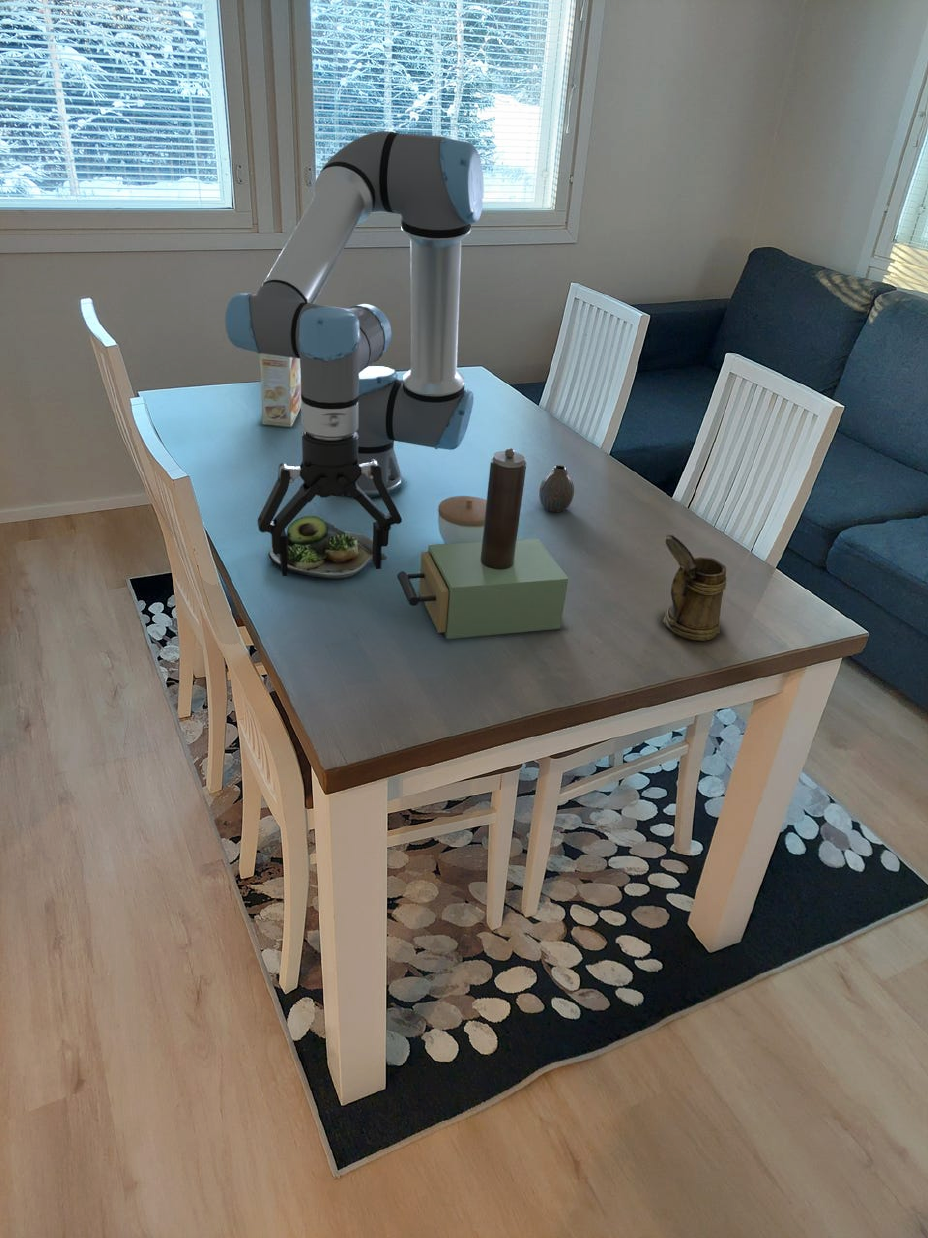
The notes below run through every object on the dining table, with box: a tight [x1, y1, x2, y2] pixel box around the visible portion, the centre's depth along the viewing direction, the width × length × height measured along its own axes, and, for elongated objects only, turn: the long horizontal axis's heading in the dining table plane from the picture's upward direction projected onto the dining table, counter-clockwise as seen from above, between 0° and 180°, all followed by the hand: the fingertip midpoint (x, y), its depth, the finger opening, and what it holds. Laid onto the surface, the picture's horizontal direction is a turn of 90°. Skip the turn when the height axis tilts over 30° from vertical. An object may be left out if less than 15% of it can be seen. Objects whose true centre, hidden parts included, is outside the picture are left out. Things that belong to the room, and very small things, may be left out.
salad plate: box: [267, 515, 388, 580], centre depth 149 cm, size 19×18×5 cm
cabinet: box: [427, 537, 569, 640], centre depth 137 cm, size 19×14×9 cm
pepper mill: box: [481, 447, 527, 569], centre depth 130 cm, size 5×5×19 cm
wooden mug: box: [663, 534, 728, 642], centre depth 135 cm, size 9×14×18 cm, turn 118°
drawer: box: [396, 551, 450, 634], centre depth 136 cm, size 22×12×7 cm, turn 106°
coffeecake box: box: [259, 353, 301, 428], centre depth 202 cm, size 15×7×20 cm, turn 179°
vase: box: [538, 464, 575, 513], centre depth 173 cm, size 7×7×9 cm
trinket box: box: [437, 495, 487, 544], centre depth 155 cm, size 11×11×9 cm
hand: (331, 568), depth 127 cm, fingers open, 13 cm apart
